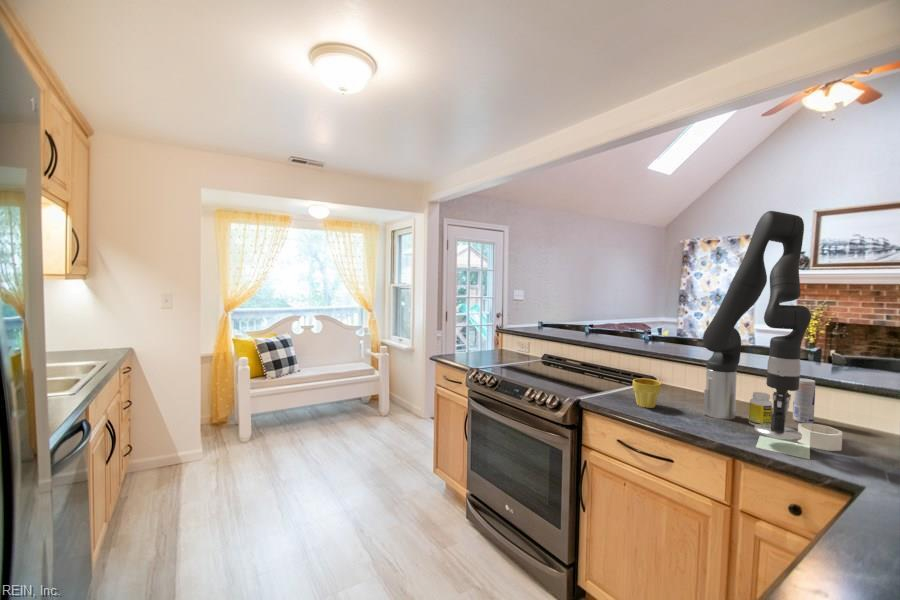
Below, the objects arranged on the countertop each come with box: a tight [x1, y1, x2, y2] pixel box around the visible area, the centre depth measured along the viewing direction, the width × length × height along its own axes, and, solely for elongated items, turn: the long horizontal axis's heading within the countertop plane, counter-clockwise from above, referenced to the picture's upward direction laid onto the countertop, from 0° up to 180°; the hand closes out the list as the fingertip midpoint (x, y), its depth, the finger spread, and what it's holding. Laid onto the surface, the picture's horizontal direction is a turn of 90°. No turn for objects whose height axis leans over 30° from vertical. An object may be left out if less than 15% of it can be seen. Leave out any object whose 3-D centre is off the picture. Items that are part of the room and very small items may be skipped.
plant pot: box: [632, 377, 662, 409], centre depth 161 cm, size 10×10×10 cm
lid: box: [754, 411, 802, 441], centre depth 121 cm, size 11×11×6 cm
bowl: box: [796, 422, 843, 452], centre depth 122 cm, size 10×10×5 cm
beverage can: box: [792, 377, 816, 423], centre depth 143 cm, size 6×6×15 cm
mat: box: [755, 435, 811, 460], centre depth 121 cm, size 12×12×1 cm
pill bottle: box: [748, 391, 773, 426], centre depth 139 cm, size 6×6×11 cm
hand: (779, 428), depth 121 cm, fingers closed on lid, 3 cm apart
